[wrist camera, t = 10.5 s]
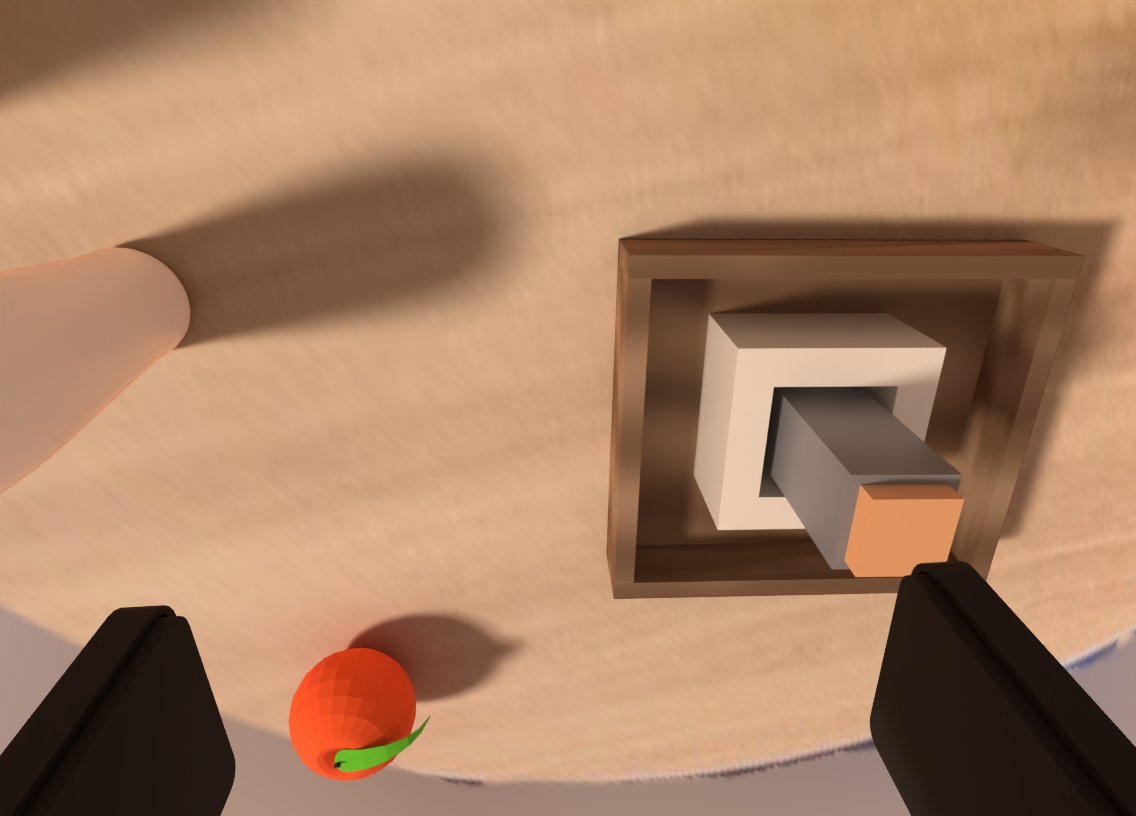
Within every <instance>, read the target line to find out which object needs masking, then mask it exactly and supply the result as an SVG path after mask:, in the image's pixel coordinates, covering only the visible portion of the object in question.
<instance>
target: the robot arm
mask: <svg viewBox="0 0 1136 816" xmlns="http://www.w3.org/2000/svg"><path fill="white" fill-rule="evenodd" d="M870 729H871V734H872V738H873V741H874V744H875V746H876V748H877V750H878V752H879V754H880V756H881V758H882V760H883V762H884V764H885V766H886V768H887V770H888V772H889V774H890V776H891V777H892V779H893V781H894V783H895V785H896V787H897V789H898V791H899V793H900V795H901V797H902V799H903V801H904V803H905V804H906V806H907V808H908V810H909V812H910V814H911V816H1136V747H1135V746H1134V745H1133V744H1132V743H1131V741H1130V740H1129V739H1128V738H1127V737H1126V736H1125V735H1124V734H1123V733H1122V731H1121V730H1120V729H1119V728H1118V727H1117V726H1116V725H1115V724H1114V723H1113V722H1112V721H1111V719H1110V718H1109V717H1108V716H1107V715H1106V714H1105V713H1104V712H1103V710H1102V709H1101V708H1100V707H1099V706H1098V705H1097V704H1096V703H1095V702H1094V701H1093V699H1092V698H1091V697H1090V696H1089V695H1088V694H1087V693H1086V692H1085V691H1084V690H1083V688H1082V687H1081V686H1080V685H1079V684H1078V683H1077V682H1076V681H1075V680H1074V678H1073V677H1072V676H1071V675H1070V674H1069V673H1068V672H1067V671H1066V670H1065V668H1064V667H1063V666H1062V665H1061V664H1060V663H1059V662H1058V661H1057V660H1056V659H1055V657H1054V656H1053V655H1052V654H1051V653H1050V652H1049V651H1048V650H1047V649H1046V647H1045V646H1044V645H1043V644H1042V643H1041V642H1040V641H1039V640H1038V639H1037V638H1036V636H1035V635H1034V634H1033V633H1032V632H1031V631H1030V630H1029V629H1028V628H1027V626H1026V625H1025V624H1024V623H1023V622H1022V621H1021V620H1020V619H1019V618H1018V617H1017V615H1016V614H1015V613H1014V612H1013V611H1012V610H1011V609H1010V608H1009V607H1008V605H1007V604H1006V603H1005V602H1004V601H1003V600H1002V599H1001V598H1000V597H999V596H998V594H997V593H996V592H995V591H994V590H993V589H992V588H991V587H990V586H989V584H988V583H987V582H986V581H985V580H984V579H983V578H982V577H981V576H980V575H979V573H978V572H977V571H976V570H975V569H974V568H973V567H972V566H971V565H969V564H968V563H966V562H963V561H951V562H933V563H921V564H917V565H916V566H915V567H914V568H913V571H912V573H911V575H906V576H904V577H903V578H902V580H901V582H900V586H899V590H898V595H897V599H896V604H895V608H894V613H893V617H892V621H891V626H890V630H889V635H888V639H887V644H886V648H885V653H884V657H883V662H882V666H881V671H880V675H879V680H878V684H877V689H876V693H875V698H874V702H873V707H872V711H871V715H870ZM234 777H235V759H234V755H233V751H232V748H231V746H230V743H229V740H228V737H227V734H226V731H225V728H224V725H223V722H222V719H221V716H220V713H219V710H218V707H217V704H216V701H215V699H214V696H213V693H212V690H211V687H210V684H209V681H208V678H207V675H206V672H205V669H204V666H203V663H202V660H201V657H200V654H199V652H198V649H197V646H196V643H195V640H194V637H193V634H192V631H191V628H190V625H189V623H188V621H187V619H186V618H184V617H182V616H176V614H175V612H174V610H173V609H172V608H170V607H169V606H164V605H163V606H145V607H127V608H119V609H117V610H115V611H113V612H112V613H111V614H110V615H109V616H108V617H107V619H106V620H105V621H104V623H103V624H102V625H101V626H100V628H99V629H98V630H97V632H96V633H95V634H94V636H93V637H92V638H91V639H90V641H89V642H88V643H87V645H86V646H85V647H84V648H83V650H82V651H81V652H80V654H79V655H78V656H77V657H76V659H75V660H74V661H73V663H72V664H71V665H70V666H69V668H68V669H67V670H66V672H65V673H64V674H63V676H62V677H61V678H60V679H59V681H58V682H57V683H56V684H55V686H54V687H53V688H52V690H51V691H50V692H49V694H48V695H47V696H46V697H45V699H44V700H43V701H42V703H41V704H40V705H39V707H38V708H37V709H36V710H35V712H34V713H33V714H32V715H31V717H30V718H29V719H28V721H27V722H26V723H25V724H24V726H23V727H22V728H21V730H20V731H19V732H18V733H17V735H16V736H15V737H14V739H13V740H12V741H11V743H10V744H9V745H8V746H7V748H6V749H5V750H4V752H3V753H2V754H1V755H0V816H220V815H221V813H222V810H223V808H224V806H225V803H226V801H227V798H228V796H229V794H230V791H231V788H232V785H233V781H234Z"/></svg>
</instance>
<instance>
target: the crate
mask: <svg viewBox="0 0 1136 816" xmlns="http://www.w3.org/2000/svg"><path fill="white" fill-rule="evenodd" d="M1084 257H1085V256H1082V255H1078V254H1074V253H1071V252H1067V251H1063V250H1060V249H1056V248H1053V247H1049V246H1045V245H1042V244H1038V243H1034V242H1031V241H1027V240H819V239H619V251H618V276H617V301H616V327H615V352H614V378H613V403H612V429H611V454H610V479H609V505H608V530H607V560H608V566H609V572H610V578H611V584H612V590H613V597H614V599H633V598H681V597H728V596H776V595H824V594H871V593H898V590H899V586H900V582H901V580H902V578H903V577H855V576H854V574H853V573H852V571H851V570H850V569H831V567H830V566H829V564H828V563H827V561H826V560H825V558H824V557H823V555H822V553H821V552H820V550H819V549H818V547H817V546H816V544H815V543H814V541H813V539H812V538H811V536H810V535H809V533H808V532H807V530H806V529H754V530H717V527H716V525H715V523H714V521H713V518H712V516H711V514H710V511H709V509H708V507H707V504H706V502H705V500H704V497H703V495H702V493H701V491H700V488H699V486H698V484H697V481H696V479H695V477H694V465H695V454H696V443H697V433H698V422H699V411H700V401H701V390H702V379H703V368H704V358H705V347H706V336H707V326H708V315H709V314H716V313H888V314H890V315H892V316H893V317H895V318H897V319H898V320H900V321H902V322H904V323H905V324H907V325H909V326H910V327H912V328H914V329H916V330H917V331H919V332H921V333H922V334H924V335H926V336H927V337H929V338H931V339H933V340H934V341H936V342H938V343H939V344H941V345H943V346H945V347H946V352H945V357H944V361H943V365H942V369H941V373H940V378H939V382H938V386H937V390H936V394H935V399H934V403H933V407H932V411H931V415H930V420H929V424H928V428H927V432H926V437H925V441H924V442H925V443H926V444H927V445H928V446H930V447H931V448H932V449H933V450H934V451H935V452H937V453H938V454H939V455H940V456H941V457H942V458H944V459H945V460H946V461H947V462H948V463H949V464H951V465H952V466H953V467H954V468H955V469H956V470H957V471H959V472H960V473H961V474H962V477H961V481H960V485H959V488H958V492H957V493H958V494H959V495H961V496H962V497H963V498H964V503H963V506H962V510H961V513H960V517H959V520H958V524H957V527H956V531H955V534H954V538H953V541H952V545H951V548H950V552H949V555H948V559H947V562H951V561H963V562H966V563H968V564H969V565H971V566H972V567H973V568H974V569H975V570H976V571H977V572H978V573H979V575H980V576H981V577H982V578H983V579H984V580H985V581H986V579H987V576H988V573H989V570H990V566H991V563H992V560H993V556H994V553H995V550H996V547H997V543H998V540H999V537H1000V533H1001V530H1002V527H1003V523H1004V520H1005V517H1006V514H1007V510H1008V507H1009V504H1010V500H1011V497H1012V494H1013V491H1014V487H1015V484H1016V481H1017V477H1018V474H1019V471H1020V468H1021V464H1022V461H1023V458H1024V454H1025V451H1026V448H1027V445H1028V441H1029V438H1030V435H1031V431H1032V428H1033V425H1034V422H1035V418H1036V415H1037V412H1038V408H1039V405H1040V402H1041V398H1042V395H1043V392H1044V389H1045V385H1046V382H1047V379H1048V375H1049V372H1050V369H1051V366H1052V362H1053V359H1054V356H1055V352H1056V349H1057V346H1058V343H1059V339H1060V336H1061V333H1062V329H1063V326H1064V323H1065V320H1066V316H1067V313H1068V310H1069V306H1070V303H1071V300H1072V296H1073V293H1074V290H1075V287H1076V283H1077V280H1078V277H1079V273H1080V270H1081V267H1082V264H1083V260H1084Z"/></svg>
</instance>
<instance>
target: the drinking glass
mask: <svg viewBox="0 0 1136 816" xmlns="http://www.w3.org/2000/svg"><path fill="white" fill-rule="evenodd" d="M190 314H191V311H190V303H189V299H188V296H187V293H186V291H185V289H184V287H183V285H182V284H181V282H180V280H179V279H178V278H177V276H176V275H175V274H174V273H173V272H172V271H171V270H170V269H169V268H168V267H167V266H166V265H165V264H163V263H162V262H161V261H159V260H158V259H156V258H154V257H152V256H150V255H148V254H146V253H143V252H141V251H138V250H134V249H129V248H117V247H116V248H106V249H101V250H97V251H94V252H91V253H88V254H85V255H82V256H78V257H73V258H68V259H63V260H58V261H53V262H47V263H42V264H37V265H32V266H26V267H21V268H15V269H10V270H5V271H0V494H2V493H3V492H5V491H6V490H8V489H9V488H11V487H12V486H14V485H15V484H17V483H18V482H19V481H21V480H22V479H24V478H25V477H26V476H28V475H29V474H31V473H32V472H33V471H34V470H36V469H37V468H38V467H40V466H41V465H42V464H44V463H45V462H46V461H47V460H49V459H50V458H51V457H52V456H53V455H55V454H56V453H57V452H58V451H59V450H60V449H62V448H63V447H64V446H65V445H66V444H67V443H68V442H69V441H71V440H72V439H73V438H74V437H75V436H76V435H77V434H78V433H79V432H80V431H81V430H83V429H84V428H85V427H86V426H87V425H88V424H89V423H90V422H91V421H92V420H93V419H94V418H95V417H96V416H97V415H99V414H100V413H101V412H102V411H103V410H104V409H105V408H106V407H107V406H108V405H109V404H110V403H111V402H112V401H113V400H115V399H116V398H117V397H118V396H119V395H120V394H121V393H122V392H123V391H124V390H125V389H126V388H127V387H129V386H130V385H131V384H132V383H133V382H134V381H135V380H136V379H137V378H138V377H139V376H140V375H142V374H143V373H144V372H145V371H146V370H147V369H148V368H149V367H150V366H152V365H153V364H154V363H155V362H156V361H157V360H158V359H160V358H161V357H163V356H164V355H166V354H167V353H169V352H170V351H171V350H173V349H174V348H175V347H176V346H177V345H178V344H179V343H180V342H181V341H182V339H183V338H184V336H185V334H186V332H187V330H188V327H189V323H190Z"/></svg>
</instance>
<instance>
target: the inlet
mask: <svg viewBox="0 0 1136 816" xmlns="http://www.w3.org/2000/svg"><path fill="white" fill-rule="evenodd" d="M945 352H946V347H945V346H943V345H941V344H939V343H938V342H936V341H934V340H933V339H931V338H929V337H927V336H926V335H924V334H922V333H921V332H919V331H917V330H916V329H914V328H912V327H910V326H909V325H907V324H905V323H904V322H902V321H900V320H898V319H897V318H895V317H893V316H892V315H890V314H888V313H716V314H709V315H708V326H707V336H706V347H705V358H704V368H703V379H702V390H701V401H700V411H699V422H698V433H697V443H696V454H695V465H694V477H695V479H696V481H697V484H698V486H699V488H700V491H701V493H702V495H703V497H704V500H705V502H706V504H707V507H708V509H709V511H710V514H711V516H712V518H713V521H714V523H715V525H716V527H717V530H754V529H805V527H804V526H803V524H802V522H801V521H800V519H799V518H798V516H797V515H796V513H795V512H794V510H793V508H792V507H791V505H790V504H789V502H788V501H787V499H786V498H785V496H784V494H783V493H782V491H781V490H780V488H779V487H778V485H777V484H776V482H775V480H774V479H773V477H772V476H771V474H770V473H769V471H768V470H767V468H766V466H765V465H764V463H763V462H764V455H765V448H766V441H767V433H768V426H769V419H770V412H771V404H772V397H773V390H774V387H848V386H860V387H861V388H862V389H863V390H865V391H866V392H867V393H868V394H869V395H870V396H872V397H873V398H874V399H875V400H876V401H877V402H878V403H880V404H881V405H882V406H883V407H884V408H885V409H887V410H888V411H889V412H890V413H891V414H892V415H894V416H895V417H896V418H897V419H898V420H899V421H901V422H902V423H903V424H904V425H905V426H906V427H908V428H909V429H910V430H911V431H912V432H913V433H914V434H916V435H917V436H918V437H919V438H920V439H921V440H923V441H925V437H926V432H927V428H928V424H929V420H930V415H931V411H932V407H933V403H934V399H935V394H936V390H937V386H938V382H939V378H940V373H941V369H942V365H943V361H944V357H945Z"/></svg>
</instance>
